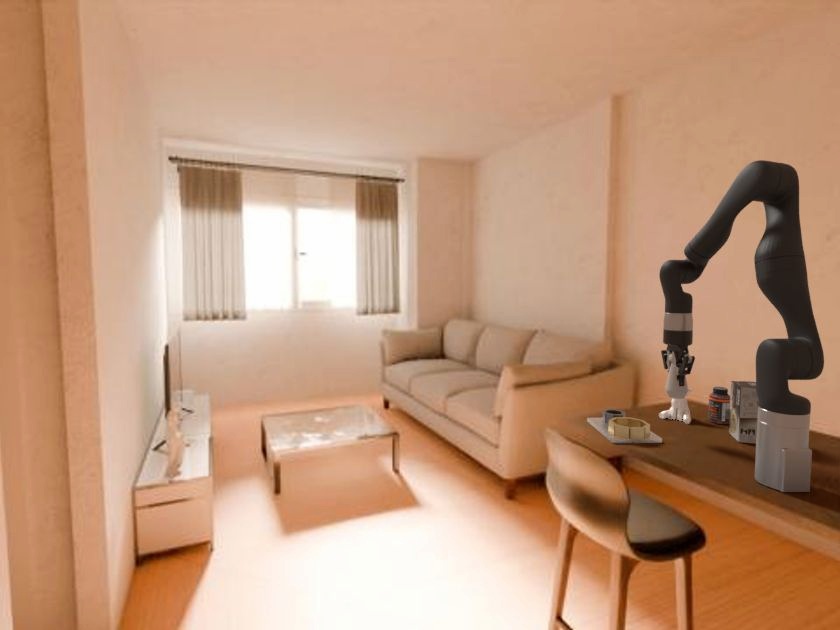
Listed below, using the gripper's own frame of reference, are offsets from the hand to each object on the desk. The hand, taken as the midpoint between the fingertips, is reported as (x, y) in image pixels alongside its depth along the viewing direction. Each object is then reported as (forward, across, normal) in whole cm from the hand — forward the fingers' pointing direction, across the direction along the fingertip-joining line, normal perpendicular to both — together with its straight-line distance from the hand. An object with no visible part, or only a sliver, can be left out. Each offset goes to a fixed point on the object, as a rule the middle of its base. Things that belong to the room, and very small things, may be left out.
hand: (676, 386), depth 134 cm
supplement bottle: (+15, +12, -21) cm, 29 cm away
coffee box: (+15, -3, -19) cm, 25 cm away
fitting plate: (+15, +5, +14) cm, 21 cm away
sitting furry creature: (+15, +16, -10) cm, 24 cm away
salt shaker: (+3, 0, 0) cm, 3 cm away
